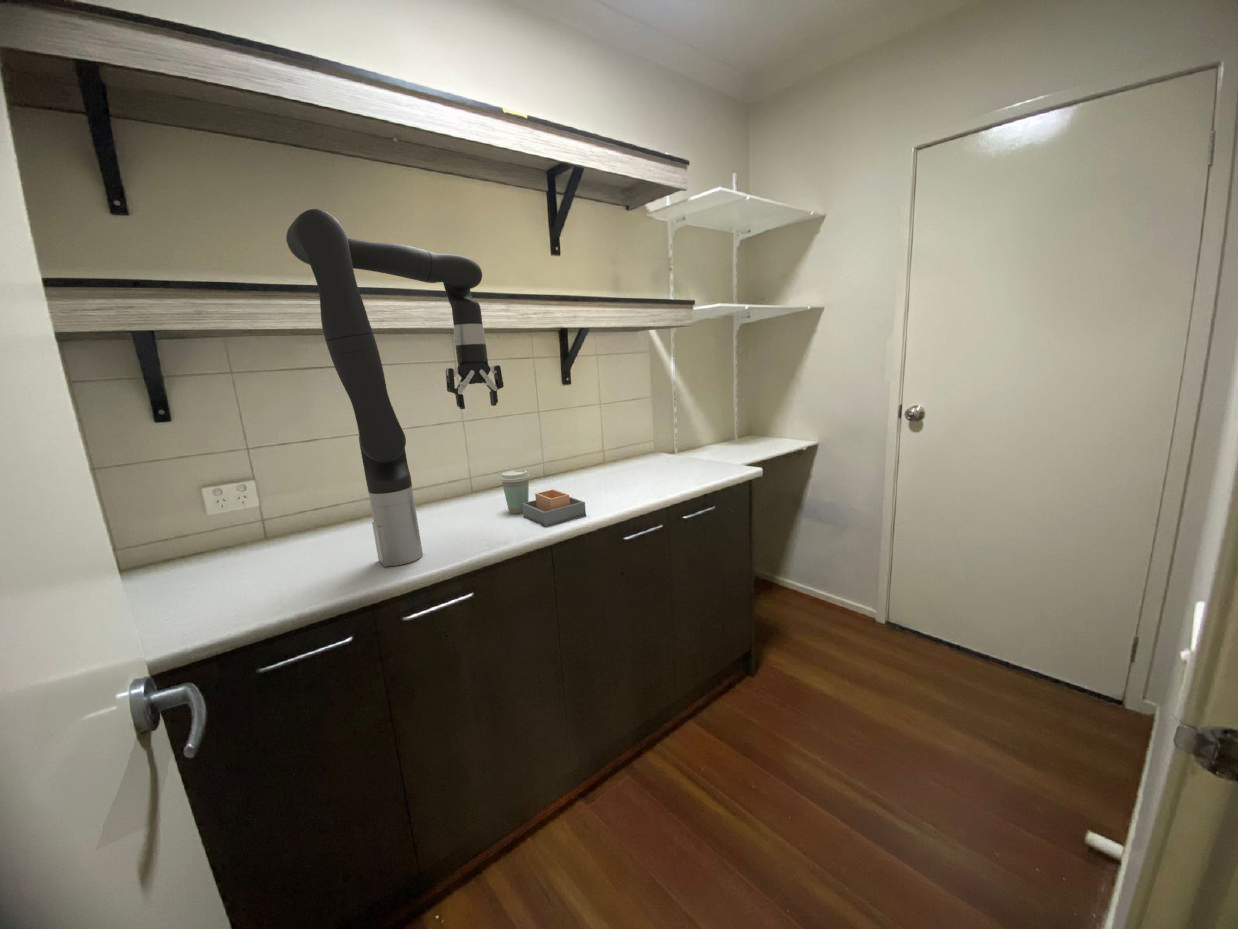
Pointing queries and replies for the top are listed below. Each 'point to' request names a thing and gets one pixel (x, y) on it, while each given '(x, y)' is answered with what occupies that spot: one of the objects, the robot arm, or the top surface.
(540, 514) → the big crate
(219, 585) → the top surface
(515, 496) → the coffee cup
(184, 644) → the top surface
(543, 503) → the small crate
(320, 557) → the top surface
